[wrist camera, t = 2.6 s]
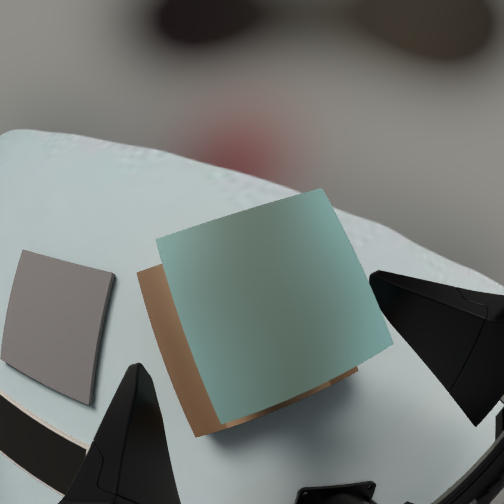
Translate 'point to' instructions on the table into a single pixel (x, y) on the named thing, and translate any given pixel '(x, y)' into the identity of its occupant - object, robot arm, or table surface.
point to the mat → (56, 323)
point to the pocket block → (192, 359)
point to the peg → (271, 302)
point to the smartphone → (39, 446)
